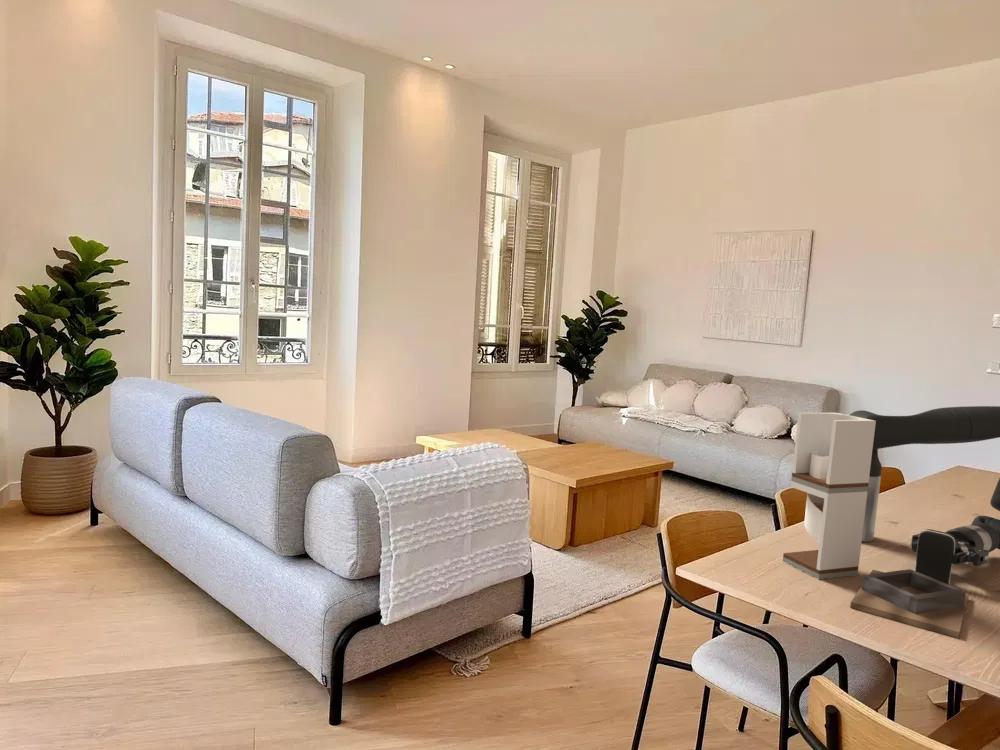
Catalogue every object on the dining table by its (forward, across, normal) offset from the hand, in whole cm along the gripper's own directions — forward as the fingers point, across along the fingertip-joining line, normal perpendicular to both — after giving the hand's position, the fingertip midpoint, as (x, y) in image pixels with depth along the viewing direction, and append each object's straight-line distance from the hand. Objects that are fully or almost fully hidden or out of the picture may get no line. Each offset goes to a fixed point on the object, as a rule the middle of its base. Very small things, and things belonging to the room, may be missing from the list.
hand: (934, 553), depth 153 cm
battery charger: (-1, 0, +7) cm, 7 cm away
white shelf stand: (+16, -17, +7) cm, 24 cm away
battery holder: (+17, +4, +6) cm, 18 cm away
